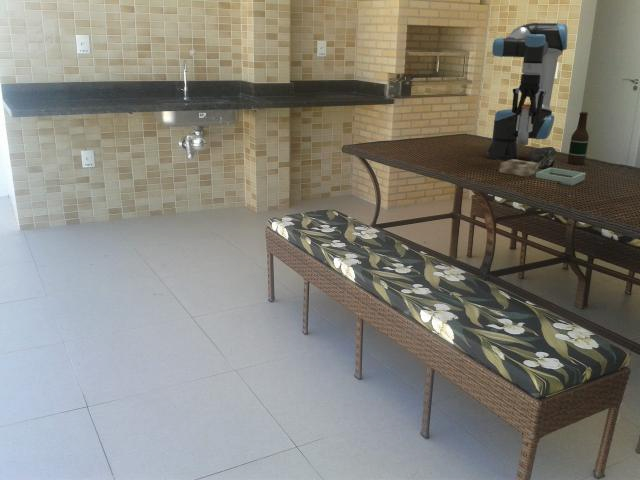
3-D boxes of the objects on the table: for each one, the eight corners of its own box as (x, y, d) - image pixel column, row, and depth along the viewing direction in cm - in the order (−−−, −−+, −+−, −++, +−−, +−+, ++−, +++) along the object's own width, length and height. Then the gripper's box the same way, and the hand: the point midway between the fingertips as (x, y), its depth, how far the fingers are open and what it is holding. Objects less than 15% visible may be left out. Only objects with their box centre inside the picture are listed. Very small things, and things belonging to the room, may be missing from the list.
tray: (535, 179, 254) (536, 172, 253) (549, 174, 265) (550, 167, 264) (571, 185, 245) (572, 178, 244) (584, 180, 255) (585, 173, 254)
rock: (560, 162, 276) (555, 143, 272) (560, 172, 269) (554, 152, 265) (533, 169, 282) (527, 150, 278) (532, 179, 275) (526, 159, 271)
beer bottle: (586, 165, 285) (594, 113, 277) (568, 164, 286) (576, 112, 278) (582, 162, 292) (591, 111, 284) (565, 161, 293) (573, 110, 286)
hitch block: (499, 174, 262) (500, 162, 261) (511, 170, 271) (512, 159, 269) (525, 178, 255) (527, 167, 253) (537, 174, 264) (538, 163, 262)
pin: (515, 144, 259) (519, 104, 253) (519, 142, 262) (524, 103, 257) (524, 145, 256) (529, 105, 251) (529, 144, 259) (534, 104, 254)
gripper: (507, 72, 252) (500, 129, 260) (548, 75, 241) (540, 134, 249) (514, 72, 258) (508, 127, 265) (555, 74, 247) (547, 132, 255)
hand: (523, 130), depth 257 cm, fingers closed on pin, 4 cm apart
